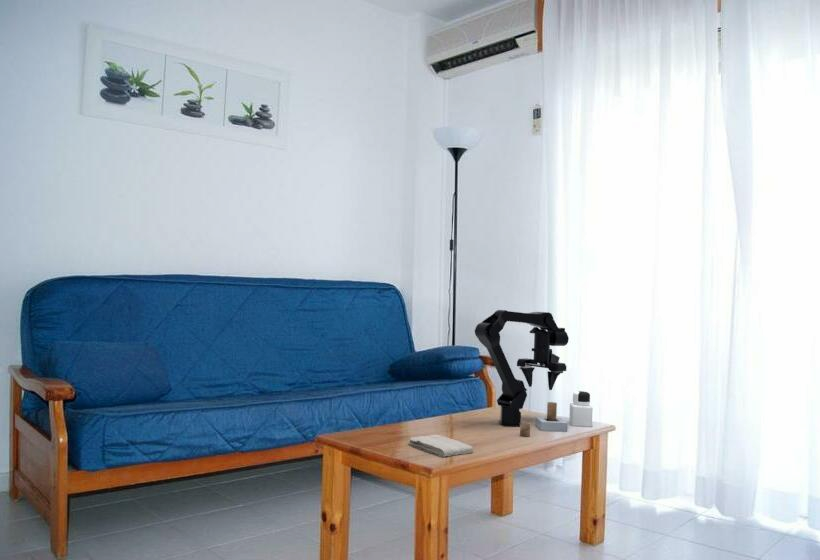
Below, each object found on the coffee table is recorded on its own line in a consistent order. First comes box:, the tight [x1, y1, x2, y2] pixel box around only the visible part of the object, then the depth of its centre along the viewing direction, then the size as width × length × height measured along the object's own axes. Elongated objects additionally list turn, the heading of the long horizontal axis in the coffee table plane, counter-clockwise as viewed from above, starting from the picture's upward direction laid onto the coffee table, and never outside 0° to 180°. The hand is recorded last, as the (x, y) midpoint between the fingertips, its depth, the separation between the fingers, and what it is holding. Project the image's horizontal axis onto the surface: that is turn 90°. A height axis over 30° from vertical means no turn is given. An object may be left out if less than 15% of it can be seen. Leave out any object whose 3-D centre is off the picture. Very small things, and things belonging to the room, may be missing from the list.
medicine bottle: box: [568, 390, 594, 428], centre depth 237 cm, size 7×7×12 cm
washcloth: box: [408, 434, 474, 458], centre depth 190 cm, size 12×18×3 cm, turn 37°
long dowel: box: [546, 401, 558, 421], centre depth 227 cm, size 3×3×9 cm
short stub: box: [519, 422, 531, 438], centre depth 213 cm, size 3×3×4 cm
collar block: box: [535, 416, 569, 433], centre depth 227 cm, size 9×9×3 cm
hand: (540, 388), depth 237 cm, fingers open, 9 cm apart
